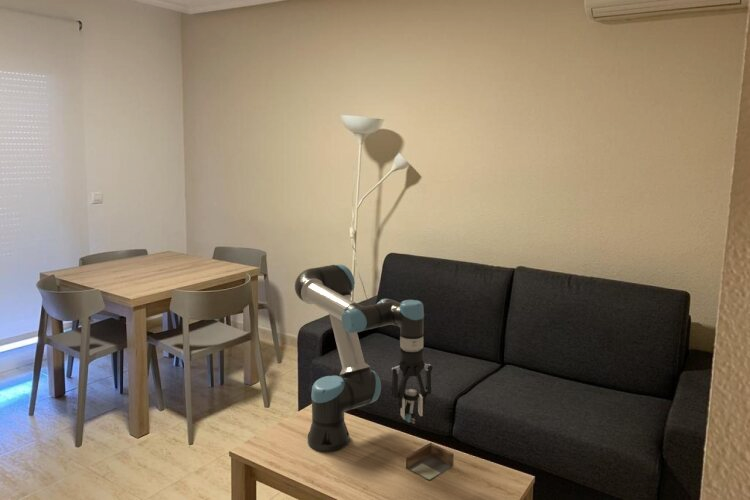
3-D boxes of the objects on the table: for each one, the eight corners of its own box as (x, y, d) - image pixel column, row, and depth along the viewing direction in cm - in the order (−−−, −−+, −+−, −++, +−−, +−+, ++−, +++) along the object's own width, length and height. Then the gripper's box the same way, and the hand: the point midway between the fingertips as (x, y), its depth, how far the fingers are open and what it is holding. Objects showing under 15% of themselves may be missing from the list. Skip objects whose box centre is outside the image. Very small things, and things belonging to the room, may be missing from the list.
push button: (420, 424, 195) (424, 395, 194) (406, 425, 192) (410, 396, 191) (409, 415, 201) (413, 387, 199) (396, 417, 198) (400, 388, 197)
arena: (406, 468, 200) (406, 456, 199) (430, 454, 209) (430, 442, 208) (429, 480, 193) (429, 468, 192) (453, 465, 202) (453, 453, 201)
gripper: (386, 354, 187) (387, 423, 191) (442, 349, 190) (441, 417, 195) (381, 346, 194) (381, 413, 198) (435, 342, 198) (434, 407, 202)
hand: (411, 415), depth 196 cm, fingers closed on push button, 5 cm apart
